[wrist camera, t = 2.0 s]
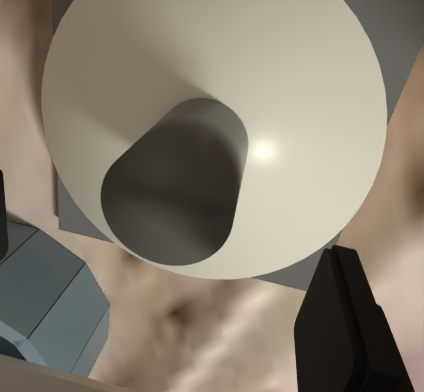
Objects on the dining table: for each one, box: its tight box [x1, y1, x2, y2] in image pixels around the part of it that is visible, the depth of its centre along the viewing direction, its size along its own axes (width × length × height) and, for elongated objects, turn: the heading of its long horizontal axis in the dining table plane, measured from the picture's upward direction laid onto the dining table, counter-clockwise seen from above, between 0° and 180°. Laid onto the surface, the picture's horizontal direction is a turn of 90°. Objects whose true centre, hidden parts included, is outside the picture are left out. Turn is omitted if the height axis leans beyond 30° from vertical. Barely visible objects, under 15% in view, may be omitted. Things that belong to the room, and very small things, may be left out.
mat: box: [53, 0, 424, 291], centre depth 17 cm, size 15×15×1 cm
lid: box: [41, 0, 387, 279], centre depth 14 cm, size 15×15×7 cm
